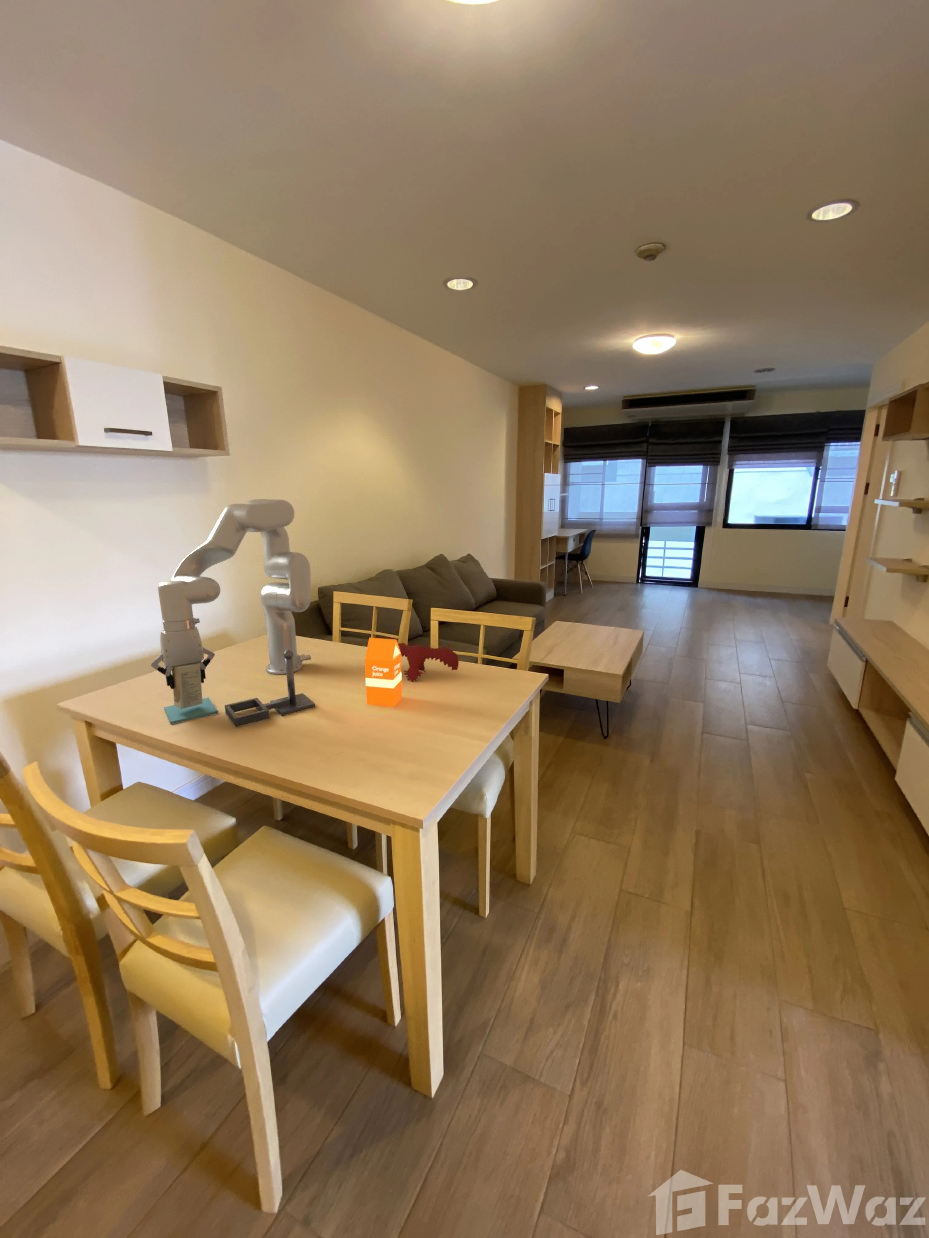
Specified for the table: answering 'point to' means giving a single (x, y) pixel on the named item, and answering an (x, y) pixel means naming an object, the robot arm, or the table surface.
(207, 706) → the teal mat
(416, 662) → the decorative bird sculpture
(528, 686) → the table surface
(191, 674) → the skincare box
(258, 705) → the ring stand
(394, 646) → the orange juice
